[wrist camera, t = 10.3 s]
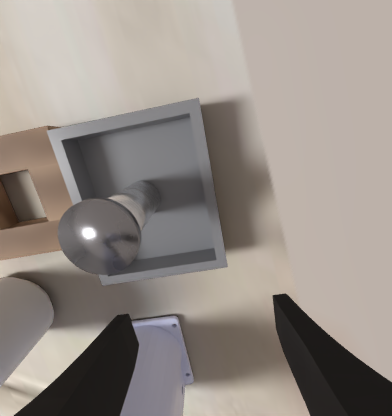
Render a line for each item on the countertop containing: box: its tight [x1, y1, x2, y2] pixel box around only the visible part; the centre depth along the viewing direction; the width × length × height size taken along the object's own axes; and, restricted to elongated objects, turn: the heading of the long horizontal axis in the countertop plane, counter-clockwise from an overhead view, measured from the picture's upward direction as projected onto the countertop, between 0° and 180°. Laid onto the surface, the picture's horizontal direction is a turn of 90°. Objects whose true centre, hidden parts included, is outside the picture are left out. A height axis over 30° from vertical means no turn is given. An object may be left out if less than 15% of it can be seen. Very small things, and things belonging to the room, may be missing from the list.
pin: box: [58, 180, 161, 275], centre depth 15 cm, size 4×4×9 cm
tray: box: [47, 98, 228, 286], centre depth 18 cm, size 13×11×3 cm
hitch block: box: [0, 126, 73, 260], centre depth 19 cm, size 10×10×2 cm
